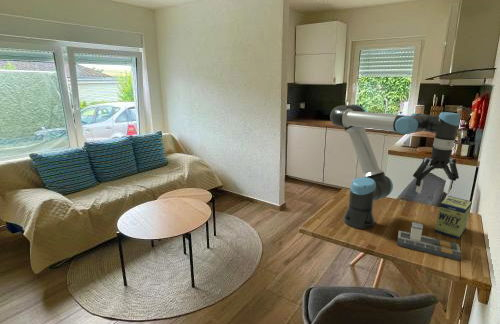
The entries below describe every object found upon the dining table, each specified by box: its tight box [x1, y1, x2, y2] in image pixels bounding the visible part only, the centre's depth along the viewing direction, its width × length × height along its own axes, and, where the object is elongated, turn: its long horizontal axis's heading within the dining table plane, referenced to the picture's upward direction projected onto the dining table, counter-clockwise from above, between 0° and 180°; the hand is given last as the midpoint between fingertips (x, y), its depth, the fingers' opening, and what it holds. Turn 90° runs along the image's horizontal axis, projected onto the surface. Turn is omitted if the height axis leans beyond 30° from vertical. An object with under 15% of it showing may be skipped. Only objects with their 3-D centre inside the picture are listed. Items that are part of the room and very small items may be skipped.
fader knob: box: [410, 221, 424, 242], centre depth 135 cm, size 4×5×7 cm
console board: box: [396, 229, 462, 262], centre depth 134 cm, size 24×12×3 cm, turn 62°
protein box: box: [434, 195, 473, 240], centre depth 146 cm, size 10×16×16 cm
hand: (432, 192), depth 136 cm, fingers open, 13 cm apart
